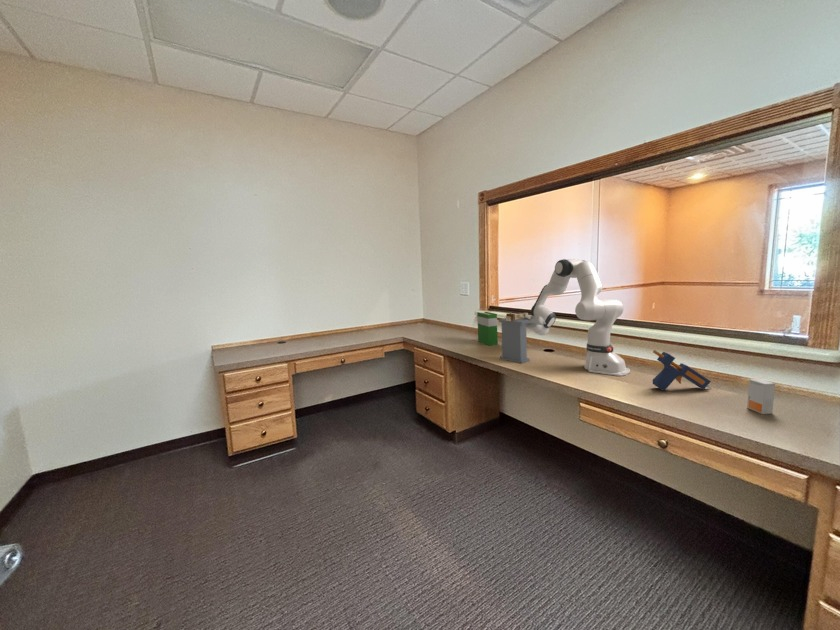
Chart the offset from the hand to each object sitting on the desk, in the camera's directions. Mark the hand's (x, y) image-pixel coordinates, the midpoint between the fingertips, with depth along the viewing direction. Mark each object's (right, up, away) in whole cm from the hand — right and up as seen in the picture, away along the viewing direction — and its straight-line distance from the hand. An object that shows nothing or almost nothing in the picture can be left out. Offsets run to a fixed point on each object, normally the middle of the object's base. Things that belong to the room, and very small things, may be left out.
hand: (522, 314), depth 222 cm
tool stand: (-6, -29, -2) cm, 29 cm away
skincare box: (+65, -37, -90) cm, 117 cm away
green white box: (-13, -23, +49) cm, 55 cm away
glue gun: (+54, -34, -64) cm, 91 cm away
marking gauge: (-4, -2, -3) cm, 6 cm away
